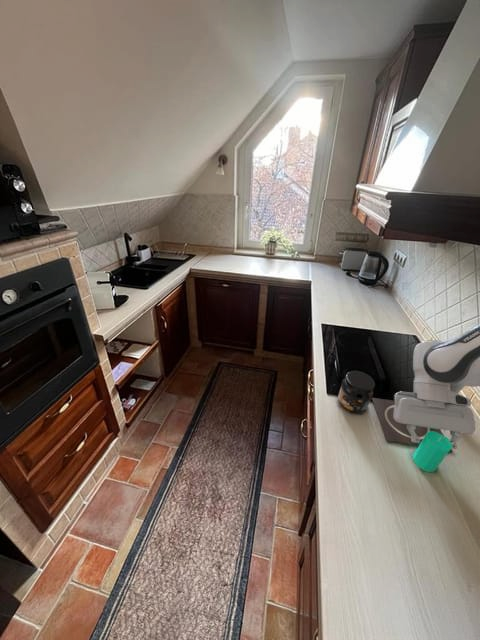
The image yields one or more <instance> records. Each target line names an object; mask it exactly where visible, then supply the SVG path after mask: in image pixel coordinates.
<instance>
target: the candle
mask: <svg viewBox="0 0 480 640" xmlns="http://www.w3.org/2000/svg"><path fill="white" fill-rule="evenodd" d="M443 435H444V434H443ZM443 435H441V434H440V433H437V432H435V431H429V432H428V433H427V434H426V435H425V437H424V439H423V440H422V442H421V443H420V445H419V446H418V447H417V448H416V449H415V451H414V453H413V455H412V461H413V462H414V464H415V465H416V466H417V467H418V468H419V469H421V470H422V471H425V472H427V473H434V472H435V471H436V469H437V468H438V467H439V466H440V464H441V463H442V462H443V460H444V459H445V458H446V456H447V455H448V453H450V452H449V451H450V449H452V445H451V442H450V439H448V437H446V436H445V435H444V436H443Z"/></svg>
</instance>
